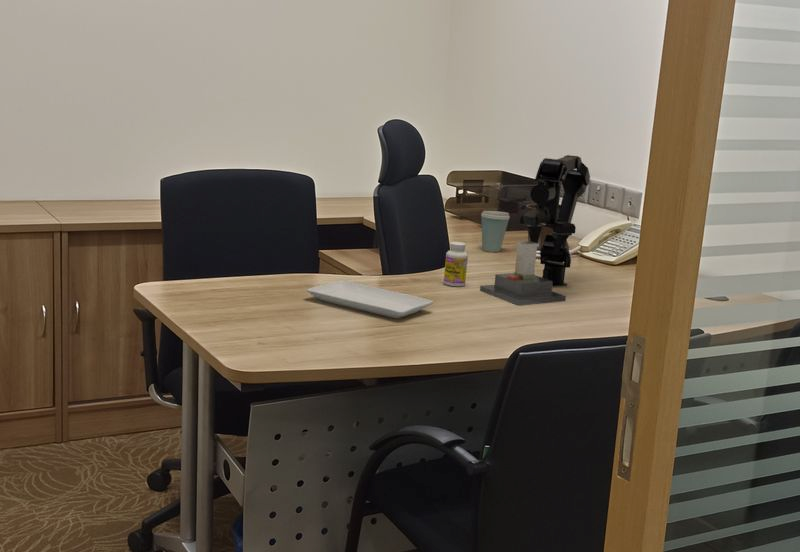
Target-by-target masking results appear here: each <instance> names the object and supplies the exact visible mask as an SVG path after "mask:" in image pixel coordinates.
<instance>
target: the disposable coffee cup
mask: <svg viewBox="0 0 800 552" xmlns="http://www.w3.org/2000/svg"><path fill="white" fill-rule="evenodd" d="M480 216H481V217H480V218H481V246H482V247H481V248H482V250H483V251H485V252H490V253H499V252H500V251H501V250H502V246H503V243H504V238H505V235H506V231H507V227H508V223H509V221H510V218H511V217H510V213H509V212H505V211H496V210H483V211H482V212H481V215H480Z"/></svg>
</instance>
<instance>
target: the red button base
mask: <svg viewBox="0 0 800 552" xmlns="http://www.w3.org/2000/svg"><path fill="white" fill-rule="evenodd" d="M552 284H553V281H551V280H548V279H545V278H542V276H539V275H534V279H530V280H521V279H519V277H516V276H515V275H514V272H512V273H497V274H495V278H494V284H488V285H487V284H486V285H480V286H479V291H480V292H482V293H485V294H487V295H489V296H492V297H496V298H499V299H501V300H504V301H505V302H509V303H511V304H513V305H516V306H525V305H537V304H538V305H539V304H546V303H558V302H566V299H567V298H566V295H564V294H562V293H558V292H555V291H553V286H552Z"/></svg>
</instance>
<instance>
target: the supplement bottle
mask: <svg viewBox="0 0 800 552" xmlns="http://www.w3.org/2000/svg"><path fill="white" fill-rule="evenodd" d="M449 243H450V244H449V247H450V250H448V251H447V252H446V253H445V263H444V264H445V265H444V272H443V273H444V275H443V284H444V285H445V286H448V287H449V286H450V287H456V288H457V287H458V288H459V287H463V286H465V284H466V279H467V266H468V260H469V259H468V257H469V255H468V253H467V251H465V250H466V245H467V244H466V243H465V242H461V241H460V242H459V241H451V242H449Z"/></svg>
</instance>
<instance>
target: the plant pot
mask: <svg viewBox="0 0 800 552" xmlns="http://www.w3.org/2000/svg"><path fill="white" fill-rule="evenodd" d="M536 205H537V203H531V204H526V206H525V208H526V209H527V210H526V213H527V212H529V211H531V210H534V209H535V208H536ZM558 212H559V210H558ZM544 223H545V222H544ZM549 225H551V224H549ZM540 226H542V225H540ZM551 233H553V229H552V228H549V227H545V226H542V229H541V233H540V236H539V240H538V243H539V246H537V251H540V250H541V247H542V245H543V244H544V241H545V237H546V235H547V234H549V235H550V234H551ZM527 236H528V237H527V242H531V240H530V236H529V233H528V232H527Z"/></svg>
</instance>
